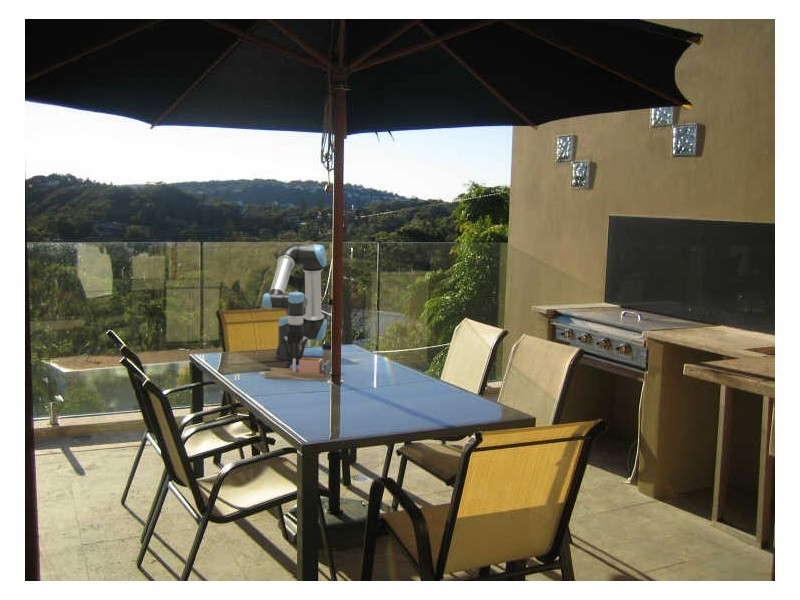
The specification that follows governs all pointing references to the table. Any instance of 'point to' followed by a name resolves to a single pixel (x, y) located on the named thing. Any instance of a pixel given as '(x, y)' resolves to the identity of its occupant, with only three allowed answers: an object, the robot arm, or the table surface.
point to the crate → (310, 365)
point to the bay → (298, 374)
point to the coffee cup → (327, 353)
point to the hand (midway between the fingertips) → (294, 371)
